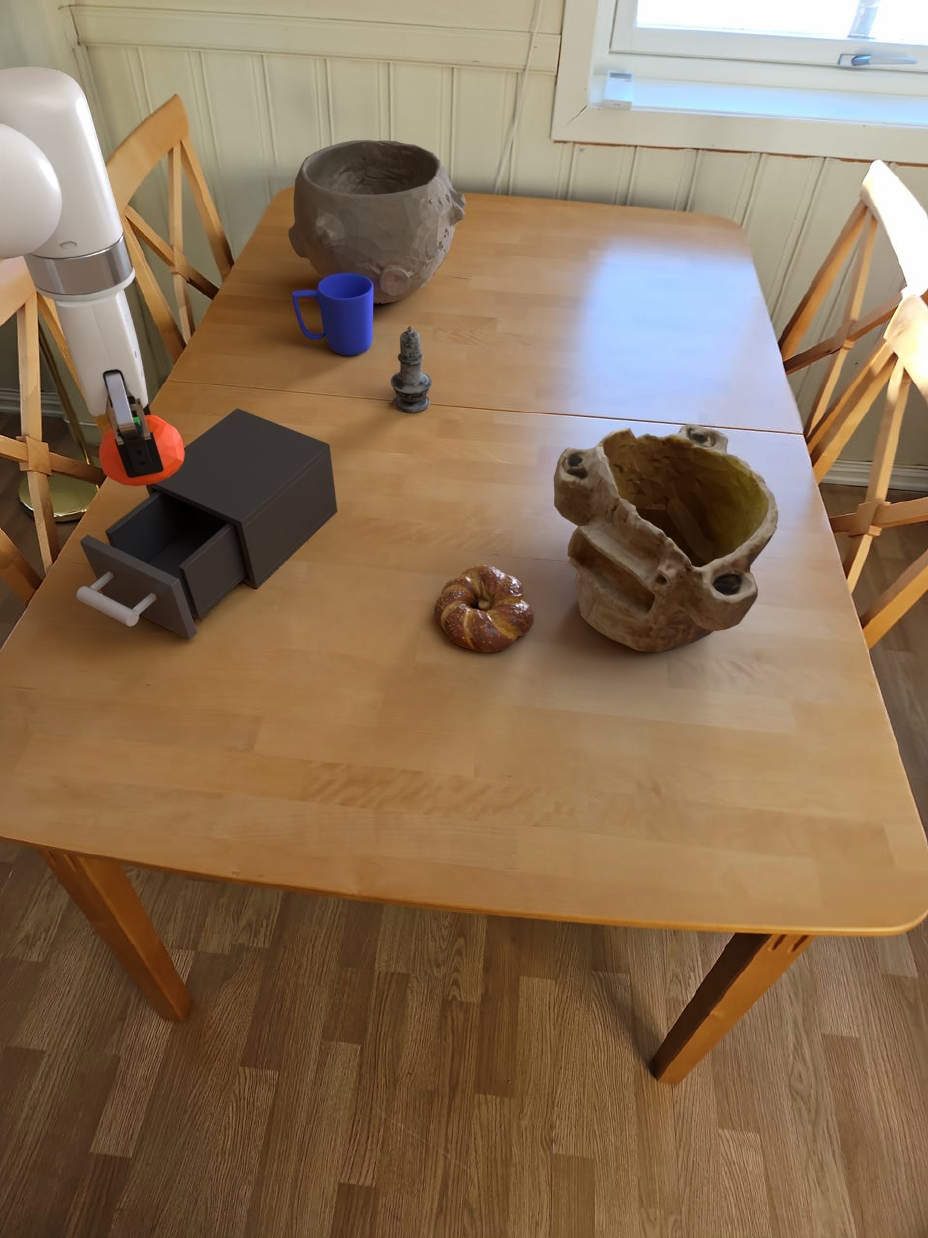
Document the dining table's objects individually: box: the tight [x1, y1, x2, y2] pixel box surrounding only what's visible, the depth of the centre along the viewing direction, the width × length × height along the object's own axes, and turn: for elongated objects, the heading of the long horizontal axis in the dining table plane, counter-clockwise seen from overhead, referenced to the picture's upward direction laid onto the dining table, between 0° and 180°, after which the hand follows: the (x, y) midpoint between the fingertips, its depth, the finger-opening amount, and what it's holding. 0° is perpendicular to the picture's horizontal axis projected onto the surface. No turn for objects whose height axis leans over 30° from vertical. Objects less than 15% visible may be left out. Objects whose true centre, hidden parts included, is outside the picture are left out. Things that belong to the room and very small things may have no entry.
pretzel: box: [434, 564, 535, 653], centre depth 91 cm, size 12×11×4 cm
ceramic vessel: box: [553, 423, 779, 654], centre depth 85 cm, size 23×24×25 cm
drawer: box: [76, 490, 248, 641], centre depth 89 cm, size 19×13×8 cm, turn 150°
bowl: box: [287, 139, 467, 305], centre depth 134 cm, size 27×29×20 cm
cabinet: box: [145, 407, 338, 590], centre depth 97 cm, size 16×14×10 cm
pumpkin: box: [98, 414, 185, 487], centre depth 76 cm, size 7×8×6 cm
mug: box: [291, 273, 374, 356], centre depth 125 cm, size 8×12×10 cm
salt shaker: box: [390, 325, 433, 414], centre depth 115 cm, size 6×6×12 cm
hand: (140, 446), depth 77 cm, fingers closed on pumpkin, 7 cm apart
